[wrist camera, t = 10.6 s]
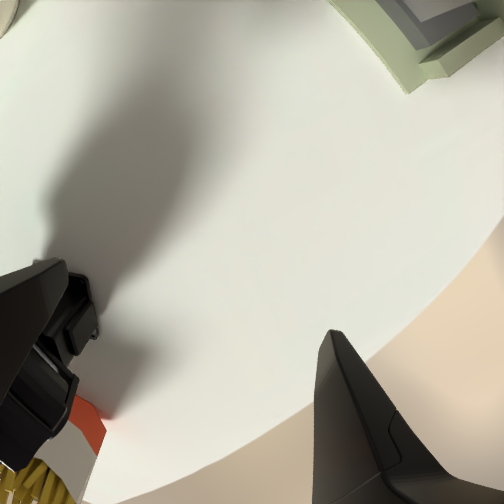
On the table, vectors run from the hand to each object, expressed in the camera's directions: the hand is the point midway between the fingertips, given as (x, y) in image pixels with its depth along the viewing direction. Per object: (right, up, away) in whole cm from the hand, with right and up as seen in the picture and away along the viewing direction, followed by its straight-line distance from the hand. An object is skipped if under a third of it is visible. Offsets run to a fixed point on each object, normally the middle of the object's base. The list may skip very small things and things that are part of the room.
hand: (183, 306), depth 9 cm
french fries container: (-20, -17, +21) cm, 34 cm away
